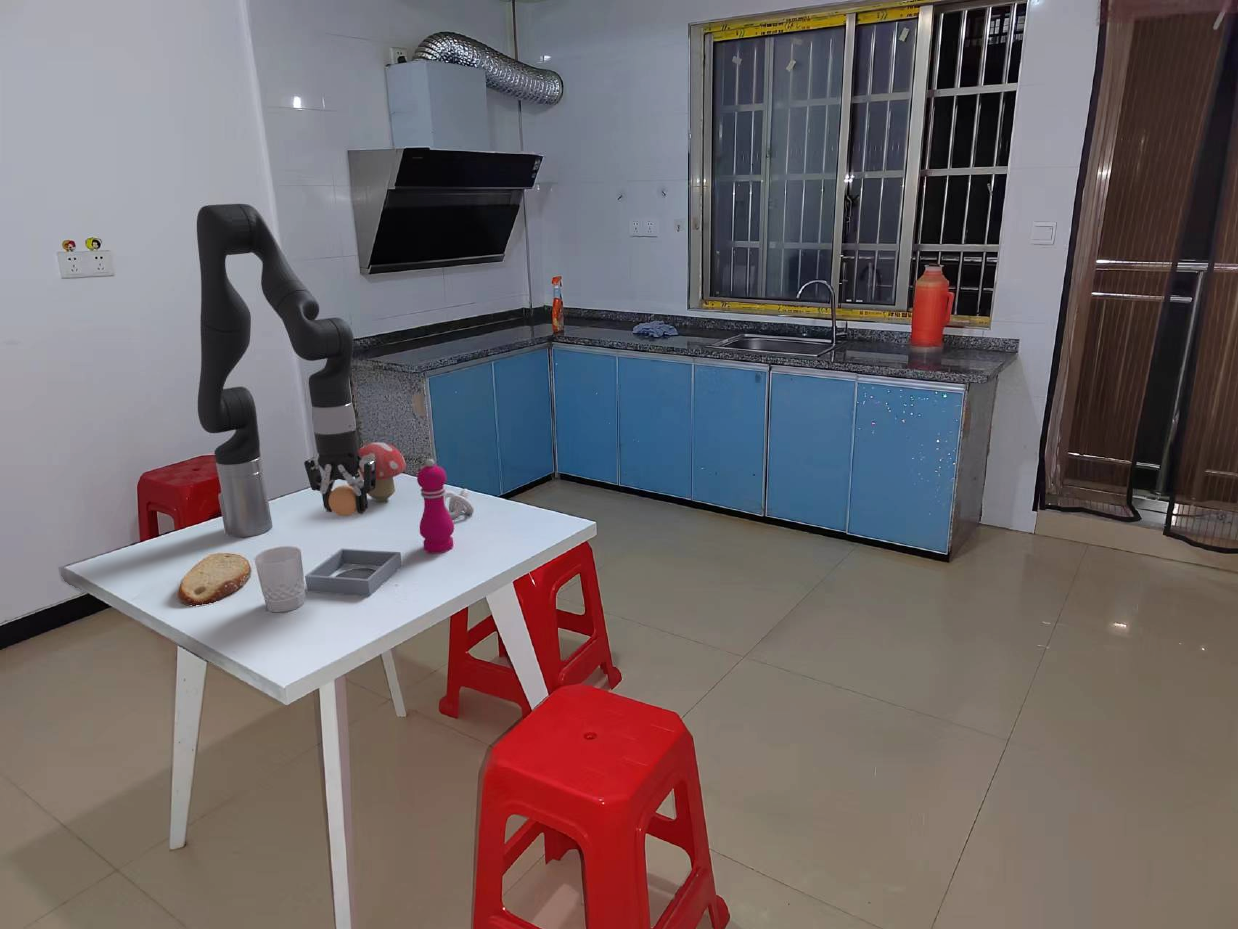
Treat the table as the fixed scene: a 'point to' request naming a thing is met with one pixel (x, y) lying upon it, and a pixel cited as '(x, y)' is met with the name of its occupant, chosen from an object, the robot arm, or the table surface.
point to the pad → (357, 573)
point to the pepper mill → (434, 510)
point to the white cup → (281, 578)
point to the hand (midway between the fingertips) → (346, 511)
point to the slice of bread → (214, 579)
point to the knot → (458, 503)
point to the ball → (343, 501)
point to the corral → (353, 586)
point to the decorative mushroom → (383, 467)
